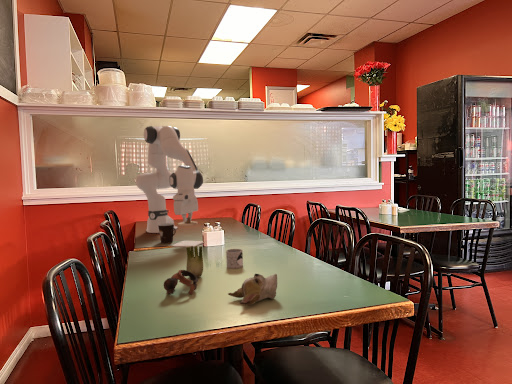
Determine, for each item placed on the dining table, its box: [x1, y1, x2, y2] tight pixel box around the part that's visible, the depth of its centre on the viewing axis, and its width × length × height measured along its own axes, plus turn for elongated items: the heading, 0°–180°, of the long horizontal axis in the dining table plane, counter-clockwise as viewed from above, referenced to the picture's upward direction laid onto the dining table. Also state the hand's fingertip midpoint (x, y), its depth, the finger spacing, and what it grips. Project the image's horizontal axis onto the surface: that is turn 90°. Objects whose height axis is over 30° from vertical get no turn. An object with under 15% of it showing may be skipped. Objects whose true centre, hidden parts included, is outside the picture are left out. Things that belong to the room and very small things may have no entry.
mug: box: [225, 248, 244, 270], centre depth 152 cm, size 10×7×7 cm, turn 168°
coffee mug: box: [158, 223, 177, 244], centre depth 205 cm, size 12×9×10 cm
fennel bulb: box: [185, 245, 204, 279], centre depth 137 cm, size 6×5×12 cm
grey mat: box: [171, 240, 205, 249], centre depth 198 cm, size 13×13×1 cm
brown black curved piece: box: [163, 269, 199, 295], centre depth 120 cm, size 12×10×8 cm
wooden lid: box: [177, 217, 198, 227], centre depth 197 cm, size 10×10×3 cm
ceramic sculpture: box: [227, 273, 278, 306], centre depth 111 cm, size 11×9×15 cm
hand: (187, 221), depth 197 cm, fingers closed on wooden lid, 3 cm apart
